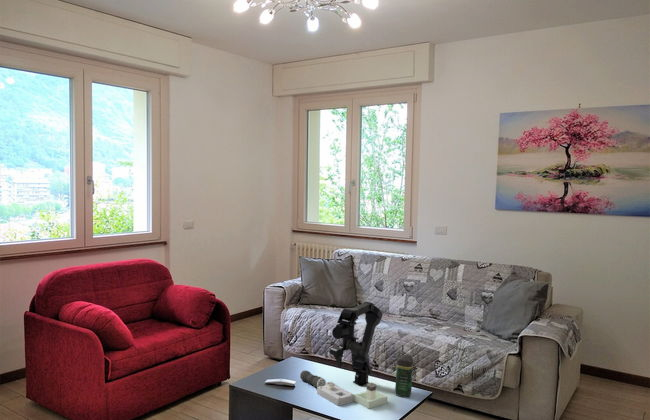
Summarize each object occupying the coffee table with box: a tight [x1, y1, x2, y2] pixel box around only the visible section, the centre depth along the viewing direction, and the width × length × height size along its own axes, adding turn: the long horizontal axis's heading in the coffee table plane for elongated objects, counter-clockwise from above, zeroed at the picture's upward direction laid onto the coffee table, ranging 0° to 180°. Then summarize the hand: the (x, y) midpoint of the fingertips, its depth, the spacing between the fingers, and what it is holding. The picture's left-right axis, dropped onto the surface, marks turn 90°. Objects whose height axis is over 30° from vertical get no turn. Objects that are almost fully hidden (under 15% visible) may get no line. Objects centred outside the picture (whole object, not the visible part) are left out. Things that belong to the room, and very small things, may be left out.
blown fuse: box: [366, 381, 377, 401], centre depth 237 cm, size 3×3×8 cm
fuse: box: [326, 381, 336, 390], centre depth 244 cm, size 3×3×6 cm
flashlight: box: [299, 370, 327, 389], centre depth 256 cm, size 15×5×5 cm, turn 39°
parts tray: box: [353, 390, 389, 409], centre depth 238 cm, size 12×10×3 cm
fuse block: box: [316, 384, 355, 406], centre depth 241 cm, size 10×16×3 cm, turn 37°
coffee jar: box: [394, 354, 414, 398], centre depth 249 cm, size 10×8×19 cm
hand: (346, 366), depth 248 cm, fingers open, 9 cm apart
